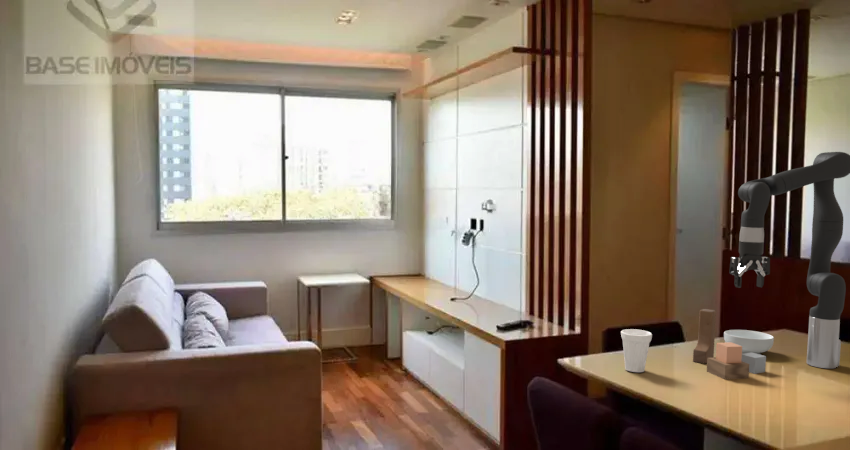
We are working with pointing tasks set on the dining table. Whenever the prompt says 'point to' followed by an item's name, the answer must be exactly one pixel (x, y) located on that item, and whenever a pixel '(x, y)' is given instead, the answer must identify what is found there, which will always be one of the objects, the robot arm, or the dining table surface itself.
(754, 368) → the slate cube
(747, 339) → the cereal bowl
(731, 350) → the terracotta cube
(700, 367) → the dining table surface
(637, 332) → the cup
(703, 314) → the wooden block
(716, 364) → the walnut base block
